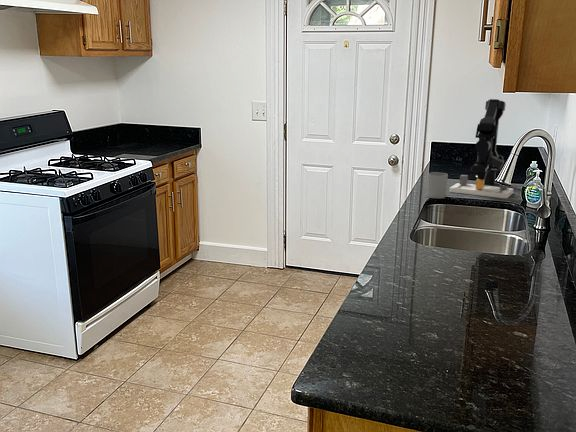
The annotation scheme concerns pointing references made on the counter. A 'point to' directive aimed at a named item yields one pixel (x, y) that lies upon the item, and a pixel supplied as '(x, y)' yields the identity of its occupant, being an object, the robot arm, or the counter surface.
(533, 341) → the counter surface
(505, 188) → the switch
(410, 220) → the counter surface
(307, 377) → the counter surface
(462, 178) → the switch
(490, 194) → the breaker panel
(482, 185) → the orange matte cube
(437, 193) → the cup
